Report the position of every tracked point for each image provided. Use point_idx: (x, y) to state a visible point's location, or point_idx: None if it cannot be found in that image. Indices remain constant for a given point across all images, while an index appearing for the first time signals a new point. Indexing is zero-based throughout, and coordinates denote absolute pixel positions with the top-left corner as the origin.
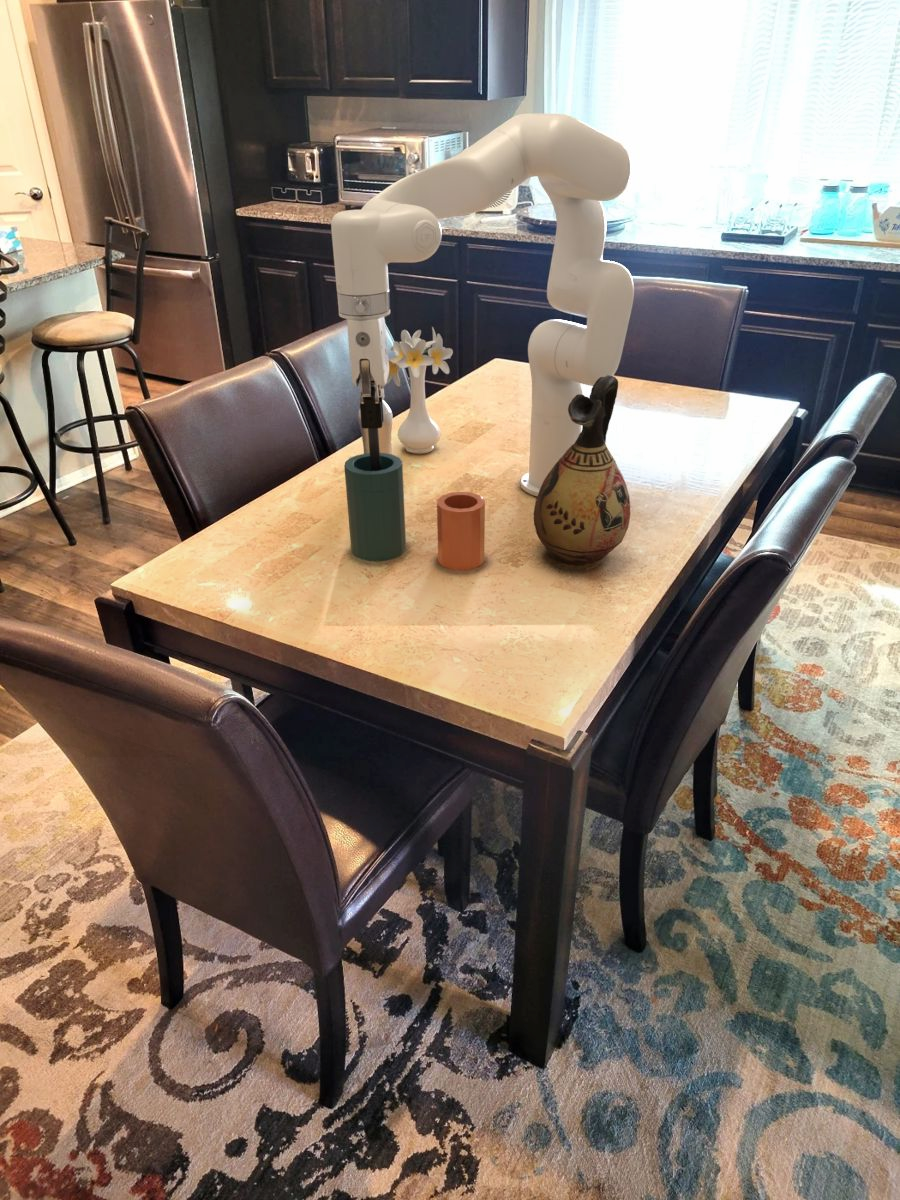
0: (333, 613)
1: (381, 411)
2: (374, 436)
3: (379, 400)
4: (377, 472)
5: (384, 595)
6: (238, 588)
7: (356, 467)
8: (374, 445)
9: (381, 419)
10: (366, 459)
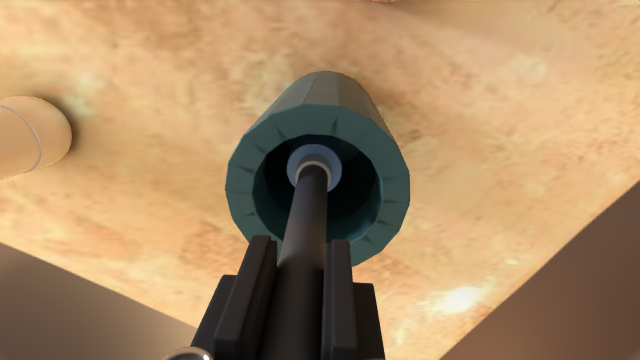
0: (522, 185)
1: (337, 293)
2: (323, 242)
3: (253, 342)
4: (396, 184)
5: (487, 109)
6: (418, 305)
7: None
8: (326, 223)
9: (350, 265)
10: (261, 213)
